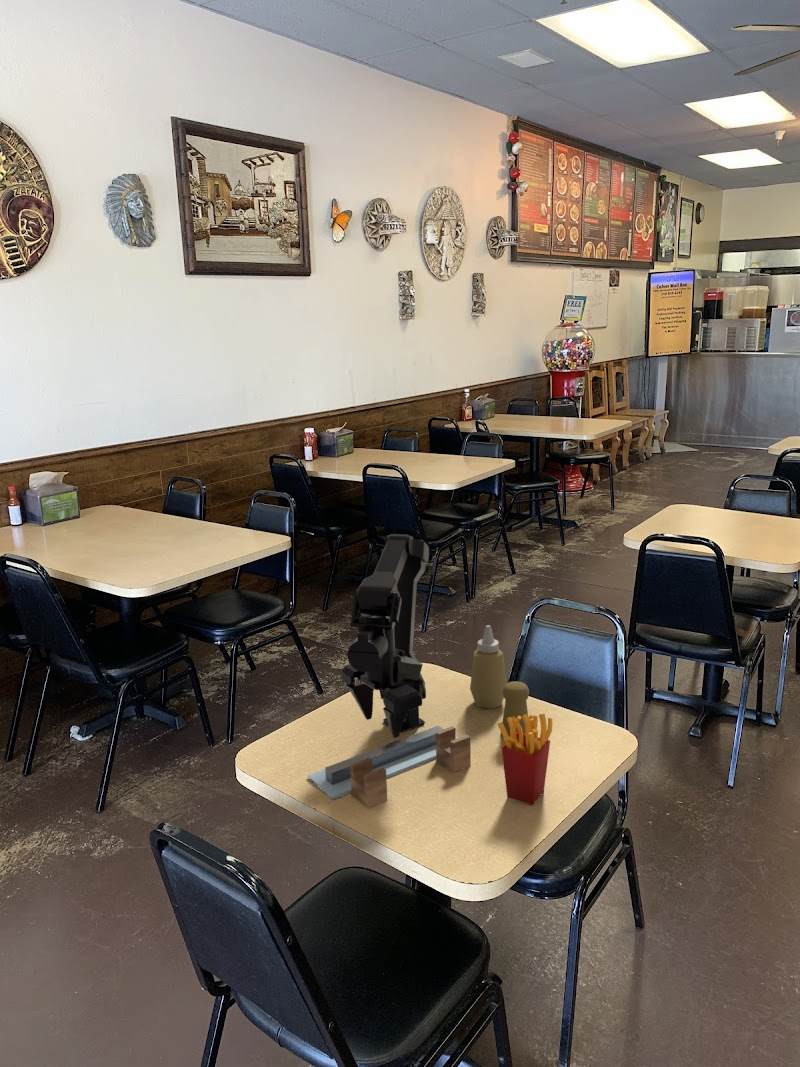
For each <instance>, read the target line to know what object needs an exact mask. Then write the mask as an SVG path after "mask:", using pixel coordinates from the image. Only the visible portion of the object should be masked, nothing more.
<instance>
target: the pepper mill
mask: <svg viewBox="0 0 800 1067" xmlns="http://www.w3.org/2000/svg"><path fill="white" fill-rule="evenodd" d="M529 695H530V690H529V687H528V685H527V684H526V683H524V682H522V681H517V680H516V681H514V680H513V681H509V682H506V685H505V686H504V688H503V696H504V700H505V701H504V709H503V715H502V721H501V722H502V723H503V725H504V727H505V729H506V731H507V733H508V736H509V737H510V727H509V723H508V721H507V718H508V717H513V716H514V717H515V718H517V717H518V715H519V716H521V720H520V721H519V724H520V726H521V727H522V731H523V734H525V723H524V721H523V718H522V716H523V715H525V714H527V715H528V716H529V711H528V702H527V700H528V699H529ZM513 723H514V721H513ZM516 731H517V732H518V728H516ZM500 736H501V738H503V735H502V733H501V732H500Z"/></svg>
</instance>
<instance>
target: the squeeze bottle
mask: <svg viewBox="0 0 800 1067" xmlns="http://www.w3.org/2000/svg"><path fill="white" fill-rule="evenodd" d="M504 658H505V657H504V652H503V651H502V650H501V649H500V642H499V640H498V639H495V638H494V635H493V628H492V626H491V625H490V624H489V625H488V624H487V625H485V626H484V632H483V636H482V638H481V639H479V640H478V641H477V649H476V650H474V651H473V656H472V666H471V675H470V676H471V677H470V687H469V690H470V692H471V695H472V698H473V701H474V703H475V704H476V706H477V707H480V708H483V709H495V708H499V707H500V706H501V705H503V701H504V700H505V698H504V696H503V688H504V686H505V685H506V684H507V677H506V669H505V659H504Z"/></svg>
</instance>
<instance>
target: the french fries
mask: <svg viewBox="0 0 800 1067" xmlns="http://www.w3.org/2000/svg"><path fill="white" fill-rule="evenodd" d="M522 718H523V721H524V723H525V734H523V731H522V727H521V726H520V724H519V721H520V720H521V716H519V715H518V717H517V718H515V717H514V716H513V717H508V718H507V721H508V723H509V727H510V737H509V736H508V733H507V731H506V729H505V727H504V725H503V723H502V721H500V722H498V723H497V726H498V729H499V731H500V734H501V733H502V735H503V737H502V738H503V741H504V744H503V746H501V755H502V756H501V757H502V763H503V771H504V772H503V773H504V779H505V780H504V781H505V788H506V795H507V796H506V797H507V798H508V799H511V800H514V801H518V802H522V803H524V804H528V805H531V806H534V805H535V804H536V802H537V801H538V800H539V798H540V797H541V796H542V795H541V794H543V793H544V792H545V784H546V777H547V769H548V761H549V753H550V745H551V740H550V739H549V738H550V736H551V734H552V732H553V719H552V718H551V717H548V718H546V713H540V714H538V715H534V714H533V713H530V714H528V715H527V714H525V715H523V716H522ZM538 718H539V722H540V735H539V734H538V733H539V732H538ZM546 719H547V720H546ZM513 721H514V723H513ZM516 728H518V732H517V731H516ZM538 735H539V737H538Z"/></svg>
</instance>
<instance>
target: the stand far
mask: <svg viewBox="0 0 800 1067" xmlns="http://www.w3.org/2000/svg"><path fill="white" fill-rule="evenodd" d="M456 732H457V731H456V727H454V726H453V725H452V726H449V727H446V728H443V730H440V731H438V732H436V758H435V760H436V762H437V763H439V764H440V765H442V766H444V767H445V768H446V769H448V770H449V771H451V772H453V773H457V772H459V771H461V770H463V769H466V768H469V767H471V766H472V765H471V764H472V762H471V761H472V760H471V758H472V756H471V754H472V753H471V736H470V735H468V734H465V735H463V736H460V737H458V738H456V736H457V735H456Z"/></svg>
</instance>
